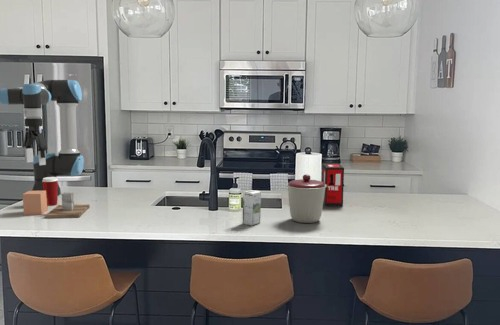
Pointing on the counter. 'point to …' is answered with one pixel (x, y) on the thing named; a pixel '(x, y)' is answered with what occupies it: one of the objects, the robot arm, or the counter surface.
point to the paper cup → (51, 190)
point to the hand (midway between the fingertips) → (36, 163)
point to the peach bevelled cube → (34, 202)
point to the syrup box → (251, 207)
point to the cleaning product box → (333, 183)
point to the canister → (306, 199)
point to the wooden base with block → (67, 208)
